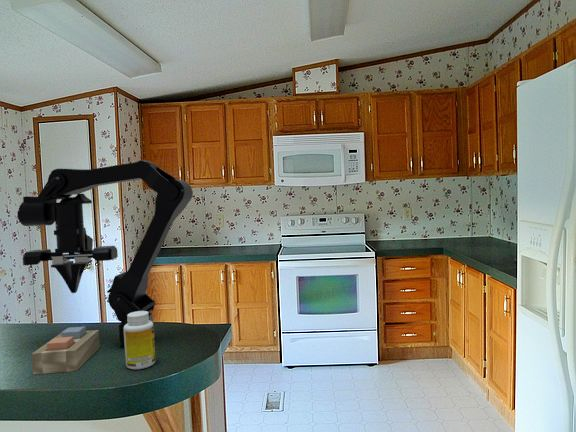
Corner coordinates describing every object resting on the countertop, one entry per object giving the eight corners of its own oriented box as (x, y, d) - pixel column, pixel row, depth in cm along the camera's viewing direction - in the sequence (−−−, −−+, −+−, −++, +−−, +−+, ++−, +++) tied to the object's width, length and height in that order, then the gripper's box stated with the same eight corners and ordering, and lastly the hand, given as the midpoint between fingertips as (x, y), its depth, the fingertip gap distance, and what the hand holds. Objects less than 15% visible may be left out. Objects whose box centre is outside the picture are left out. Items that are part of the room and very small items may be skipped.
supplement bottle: (159, 365, 84) (156, 313, 83) (129, 373, 81) (125, 319, 80) (151, 357, 89) (148, 308, 88) (123, 364, 86) (119, 313, 85)
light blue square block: (86, 339, 94) (85, 326, 94) (79, 344, 91) (78, 331, 91) (69, 340, 94) (68, 327, 94) (62, 345, 90) (61, 332, 90)
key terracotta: (74, 350, 88) (73, 336, 88) (67, 356, 84) (66, 342, 84) (56, 351, 88) (55, 337, 87) (47, 357, 84) (46, 343, 84)
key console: (99, 347, 96) (98, 329, 96) (76, 370, 83) (75, 350, 83) (62, 350, 95) (61, 332, 95) (33, 374, 82) (31, 353, 82)
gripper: (121, 220, 107) (125, 283, 108) (41, 224, 105) (46, 288, 106) (108, 223, 96) (113, 292, 97) (19, 227, 94) (24, 298, 94)
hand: (74, 292), depth 99 cm, fingers closed
